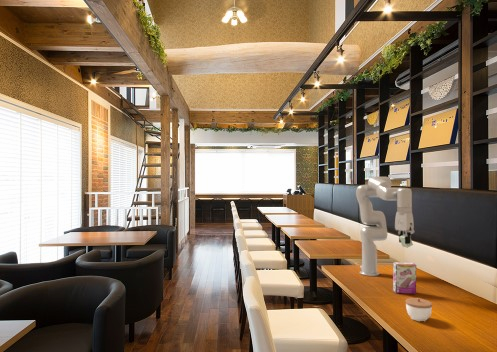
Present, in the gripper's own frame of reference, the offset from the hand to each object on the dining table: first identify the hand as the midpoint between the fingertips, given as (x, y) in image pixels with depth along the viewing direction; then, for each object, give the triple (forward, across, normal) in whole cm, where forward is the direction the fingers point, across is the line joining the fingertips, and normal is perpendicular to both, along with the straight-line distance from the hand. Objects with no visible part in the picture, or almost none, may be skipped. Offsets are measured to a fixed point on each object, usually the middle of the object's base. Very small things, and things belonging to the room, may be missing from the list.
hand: (404, 242), depth 195 cm
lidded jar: (+28, +33, -21) cm, 48 cm away
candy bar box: (+28, 0, 0) cm, 28 cm away
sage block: (+2, 0, +2) cm, 3 cm away
